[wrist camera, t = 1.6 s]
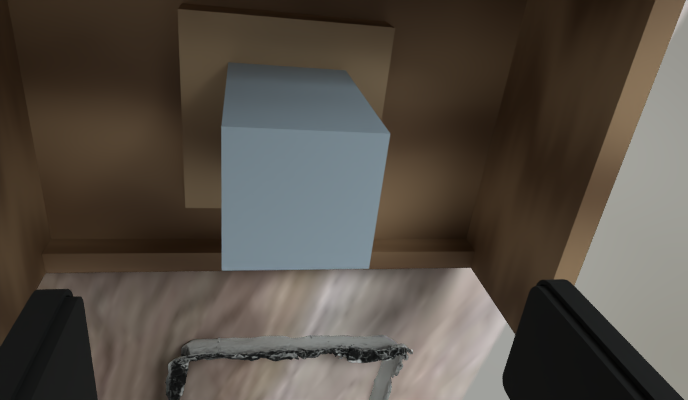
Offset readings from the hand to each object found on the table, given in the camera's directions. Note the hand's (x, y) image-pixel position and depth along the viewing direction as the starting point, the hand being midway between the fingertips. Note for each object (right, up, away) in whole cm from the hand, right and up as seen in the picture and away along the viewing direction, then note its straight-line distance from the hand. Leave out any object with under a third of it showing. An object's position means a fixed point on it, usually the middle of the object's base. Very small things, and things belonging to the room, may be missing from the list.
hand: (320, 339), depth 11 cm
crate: (-2, +7, +12) cm, 14 cm away
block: (-2, +6, +10) cm, 12 cm away
